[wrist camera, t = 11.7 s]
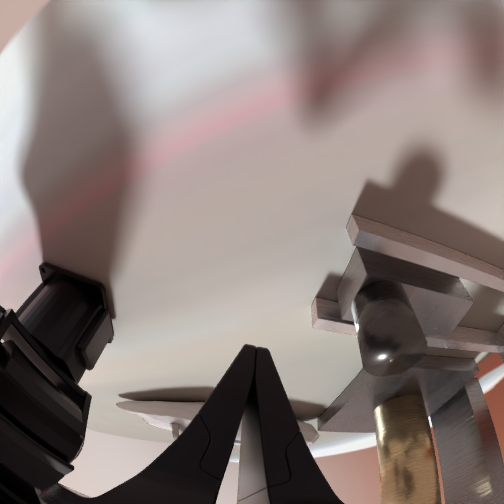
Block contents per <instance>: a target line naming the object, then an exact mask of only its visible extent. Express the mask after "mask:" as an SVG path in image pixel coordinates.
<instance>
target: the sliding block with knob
mask: <svg viewBox="0 0 504 504" xmlns="http://www.w3.org/2000/svg"><path fill="white" fill-rule="evenodd" d="M336 290H337V295H338V300H339V305H340V310H341V316H342V319H343V320H349V321H354V324H355V328H356V333H357V338H358V343H359V348H360V353H361V358H362V364H363V368H364V370H365V371H366V372H367V373H369V374H371V375H373V376H379V377H385V376H392V375H396V374H399V373H402V372H404V371H406V370H408V369H410V368H411V367H413V366H414V365H415V364H417V363H418V362H419V361H420V360H421V359H422V357H423V356H424V355H425V353H426V350H427V346H428V345H427V340H426V338H425V335H424V334H430V335H437V336H444V337H448V336H449V335H450V334H451V333H452V331H453V330H454V329H455V327H456V326H457V325H458V324H459V322H460V321H461V320H462V318H463V317H464V315H465V314H466V313H467V311H468V310H469V309H470V307H471V306H472V304H473V303H474V301H473V299H472V298H471V296H470V295H469V293H468V292H467V290H466V289H465V287H464V286H463V284H462V283H461V281H460V280H459V278H458V277H455V276H452V275H449V274H446V273H442V272H439V271H436V270H433V269H430V268H426V267H423V266H420V265H417V264H413V263H410V262H407V261H403V260H400V259H396V258H393V257H390V256H386V255H383V254H379V253H376V252H372V251H369V250H365V249H362V248H358V247H356V249H355V252H354V254H353V256H352V258H351V260H350V262H349V265H348V267H347V269H346V271H345V273H344V275H343V277H342V279H341V281H340V283H339V285H338V287H337V289H336Z"/></svg>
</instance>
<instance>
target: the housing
mask: <svg viewBox="0 0 504 504" xmlns="http://www.w3.org/2000/svg"><path fill="white" fill-rule="evenodd" d="M373 415H374V423H375V431H376V440H377V450H378V461H379V472H380V473H379V474H380V489H381V490H380V491H381V504H441V495H440V494H441V493H440V484H439V476H438V469H437V462H436V456H435V450H434V445H433V439H432V434H431V430H430V425H429V420H428V416H427V411H426V407H425V403H424V399H423V396H421V395H419V394H407V395H402V396H399V397H395V398H393V399H390V400H388V401H386V402H384V403H382V404H381V405H379V406H378V407H377V408H376V409H375V410H374V412H373Z"/></svg>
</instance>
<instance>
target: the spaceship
mask: <svg viewBox="0 0 504 504" xmlns="http://www.w3.org/2000/svg"><path fill="white" fill-rule="evenodd" d="M204 403H205V402H163V401H125V402H119V403H117V404H116V405H117V406H118V407H119V408H122V409H124V410H126V411H128V412H131V413H133V414H135V415H140V416H141V417H142V418H143V420H145V421H146V422H147V423H148V424H151V425H153V426H156V427H160V428H163V429H167V430H171V431H172V433H173V437H174V440H176V439H177V438H178V437H179V433H180V434H181V433H182V432H183V431H184V430H185V429H186V427H187V426H188V425H189V424H190V422H191V421H192V420H193V418H194V417H195V415H196V414H198V411H199V410H200V409H201V407H202V406H203V404H204ZM297 422H298V425H299V427H300V431H301V432H302V434H303V437H304V439H305V441H306V444H307V445H310V444H313V443H314V442H315V441H316V440H317V439H318V437H319V434H318V433H317V431H316V430H315V428H314V427H313V426H312V425H311V424H308V423H305V422H302V421H300V420H297ZM241 427H242V420H241V423H240V426H239V430H238V433H237V436H236V439H235V443H234V444H237V445H240V444H241ZM300 431H299V432H300Z"/></svg>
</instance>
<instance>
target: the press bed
mask: <svg viewBox="0 0 504 504" xmlns="http://www.w3.org/2000/svg"><path fill="white" fill-rule="evenodd" d="M478 372H479V369H478V366H477V364H476V362H475V360H474V359H467V358H452V357H439V356H428V355H424V356H423V357H422V359H421V360H420V361H419V362H418V363H417V364H415V365H414V366H413V367H411V368H410V369H408V370H406V371H404V372H402V373H399V374H396V375H392V376H385V377H379V376H373V375H371V374H369V373H367V372H366V371H365V370H364V368H363V369H362V370H361V372H360V373H359V374H358V375H357V376H356V378H355V379H354V380H353V381H352V382H351V383H350V384H349V386H348V387H347V388H346V389H345V390H344V391H343V392H342V393H341V394H340V396H339V397H338V398H337V399H336V400H335V401H334V402H333V403H332V404H331V405H330V406H329V407H328V408H327V409H326V410H325V411H324V412H323V413H322V414H321V415H320V417H319V418H318V431H329V432H364V433H366V432H376V431H375V423H374V415H373V412H374V410H375V409H376V408H377V407H378V406H379V405H381V404H382V403H384V402H386V401H388V400H390V399H393V398H395V397H399V396H402V395H407V394H419V395H421V396H423V399H424V403H425V407H426V411H427V416H430V417H431V422H432V426H433V430H434V435H435V439H436V445H437V450H438V455H439V461H440V466H441V473H442V480H443V487H444V496H445V504H504V463H503V458H502V454H501V450H500V446H499V442H498V438H497V435H496V431H495V428H494V424H493V421H492V418H491V415H490V412H489V409H488V406H487V403H486V400H485V397H484V394H483V392H482V389H481V386H480V384H479V381H478V378H473V377H474V375H476V373H478Z"/></svg>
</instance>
